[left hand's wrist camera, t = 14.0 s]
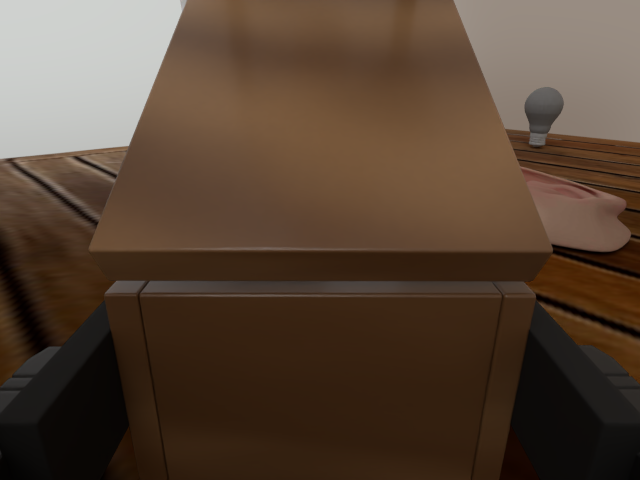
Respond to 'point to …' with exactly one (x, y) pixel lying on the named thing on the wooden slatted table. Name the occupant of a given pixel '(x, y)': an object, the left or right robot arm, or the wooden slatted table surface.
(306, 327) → the chest
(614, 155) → the wooden slatted table surface
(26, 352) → the wooden slatted table surface
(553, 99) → the light bulb
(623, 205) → the anatomical model
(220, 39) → the lid
